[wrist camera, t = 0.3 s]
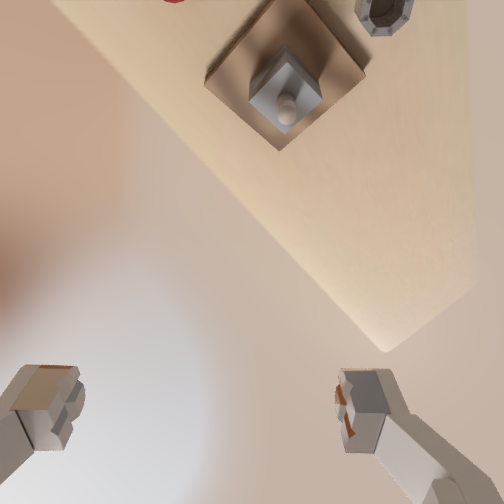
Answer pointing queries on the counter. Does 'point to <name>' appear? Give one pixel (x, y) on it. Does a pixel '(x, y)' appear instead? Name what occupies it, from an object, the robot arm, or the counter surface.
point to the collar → (384, 17)
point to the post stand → (284, 71)
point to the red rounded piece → (173, 1)
